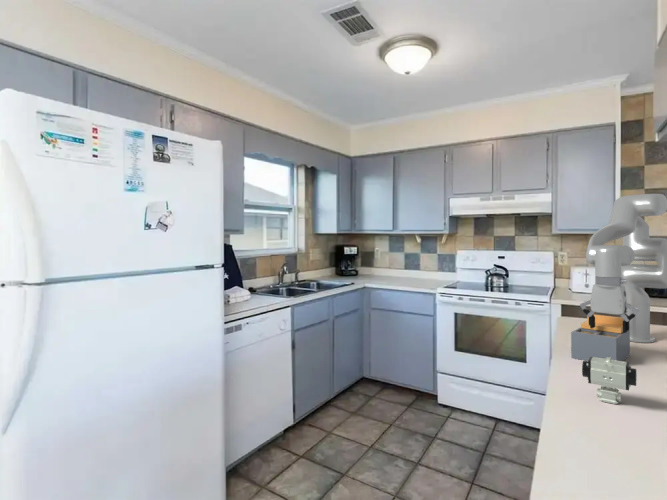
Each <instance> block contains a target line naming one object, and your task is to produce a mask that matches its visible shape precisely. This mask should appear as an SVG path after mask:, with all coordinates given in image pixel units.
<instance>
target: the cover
mask: <svg viewBox="0 0 667 500" xmlns="http://www.w3.org/2000/svg"><path fill="white" fill-rule="evenodd" d="M594 316H595V327H594V328H590V325H589V317H588V316H587V315H586V318H587V320H586V321H583V322H581V323H580V327H581V328H585V329H593V330H600V331H607V332H614V333H622V332H623V321H624V319H623V318H622V317H621V316H611V315H605V314H604V315H602V314H596V313H595V314H594Z"/></svg>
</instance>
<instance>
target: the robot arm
mask: <svg viewBox="0 0 667 500" xmlns="http://www.w3.org/2000/svg"><path fill="white" fill-rule="evenodd" d="M666 212H667V197H666V196H665V194H663V193H644V194H643V193H641V194H633V195H632V194H631V195H624V196H619V197H618V198H617V199H615V200H614V203H613V205H612V210H611V213H610V217H609V221H608V224H606V225H604V226H603V227H601V228H599V229H598V230H597V231H595V232H594V233H593V234H592V235H591V236H590V239H589V241H588V244H587V247H586V250H585V251H586V253H585V258H586V262H588V264H590V265H591V266H594V273H595V275H594V276H595V277H594V283H595V284H593V285H592V290H591V294H590V295H591V296H590V300H588V301H584V302H582V303H580V304H579V306H580V308H581V309H582V312H583V313H584V314H585V315H586V317H587V316H588V317H589V325H590V328H594V327H595V316H594V314H595V315H596V314H604V315H605V314H606V315H614V316H619V317H622V318H623V319H624V321H623V333H626V332H627V331H629V330H630V342H633V343H641V344H642V343H645V344H646V343H648V344H649V343H654V342H656V338H655V337H654V336H652V335H651V298H650V296H649V294H648V293H647V292H646V291H645V290H644V289H646V288H649V289H667V238H664V237H650V226H649V224H648V223H647V221H645V219H643V218H642V217H654V216H655V217H658V216H662V215H665V214H666ZM621 238H623V241H622V242H623V243H622V244H621V245H618V244H615V245H614V244H613V245H612V244H606V243H609V242H611V241H615V240H618V239H621ZM634 261H635V262H656V263H657V264H643V263H640V264H639V263H633V262H634ZM643 288H644V289H643ZM589 305H590V309H588V308H587V306H589Z"/></svg>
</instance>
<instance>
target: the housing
mask: <svg viewBox="0 0 667 500" xmlns="http://www.w3.org/2000/svg"><path fill="white" fill-rule="evenodd" d="M581 331H588V332H592V333H593V334H590V333H583V332H581ZM604 334H607V335H614V336H616V337H610V336H604ZM570 336H571V337H570V340H571V341H570V343H571V345H570V348H571V352H570V353H571V359H575V360H581V361H588V360H589V358H590V357H597V358H603V359H607V357H608V358H609V357H610V358H611V360H617V361H624V362H625V360H626V359H627V358H628V357H630V356H631V352H630V351H631V344H630V343H631V341H630V330H629V331H627V332H626V333H623V332H622V333H614V332H607V331H600V330H593V329H585V328H581V326H580V327H578V328H576V329H574V330H573V331H571V333H570Z"/></svg>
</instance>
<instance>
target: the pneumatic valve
mask: <svg viewBox="0 0 667 500" xmlns="http://www.w3.org/2000/svg"><path fill="white" fill-rule="evenodd" d="M581 373H582V374H581V375H582V377H583V378H586V380H587V382H588V384H592V385H597V386H600V388H598V387H597V389H596V397H597V398H599V401H601V402H602V403H608V404H613V405H618V404H619V403H621V402H622V393H621V392H620V390H624V391H629V390H630V388H631V387H632V386H634V387H636V386H637V381H638V380H637V378H638V377H637V376H638V375H637V373H638V372H637V368H633V367H632V366H631V363H630V361H625V360H624V361H617V360H611V358H610V357H609V358H608V357H607V359H603V358H597V357H590V358H589V360H588V361H585V360H582V367H581Z"/></svg>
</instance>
